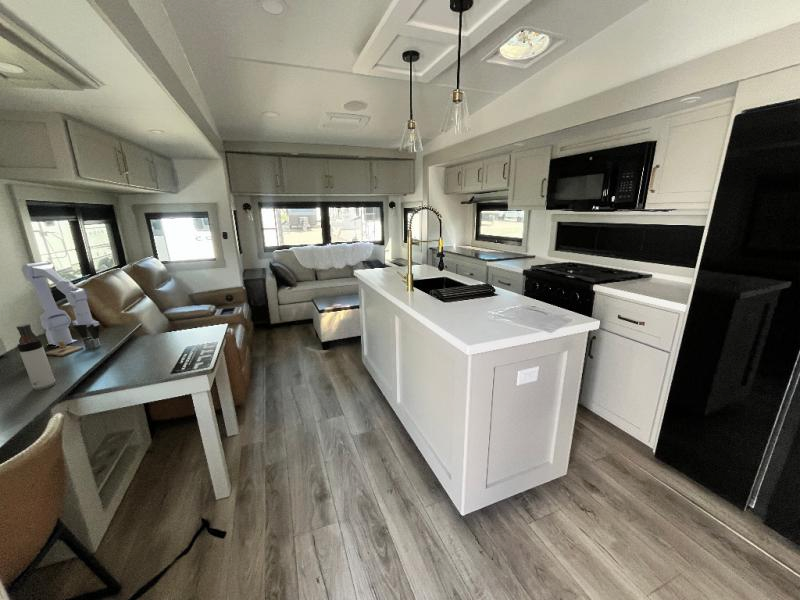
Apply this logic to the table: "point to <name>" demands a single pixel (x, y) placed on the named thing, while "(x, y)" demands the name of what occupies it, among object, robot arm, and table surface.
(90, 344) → the octagonal steel tube
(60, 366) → the table surface
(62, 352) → the brown peg board
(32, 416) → the table surface
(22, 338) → the sauce bottle
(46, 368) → the travel mug
